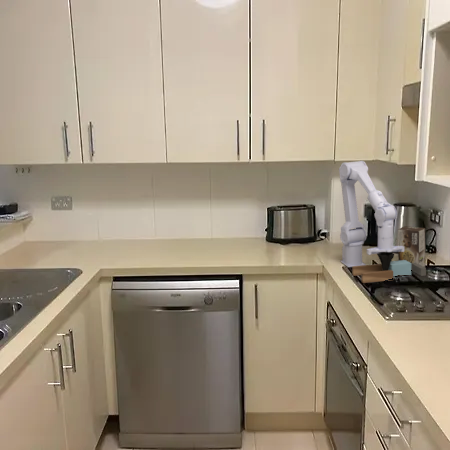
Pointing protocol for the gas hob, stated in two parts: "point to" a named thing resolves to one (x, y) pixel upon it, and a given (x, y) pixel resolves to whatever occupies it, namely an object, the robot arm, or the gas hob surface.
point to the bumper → (418, 269)
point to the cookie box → (412, 244)
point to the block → (400, 267)
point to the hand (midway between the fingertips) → (385, 270)
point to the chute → (372, 273)
